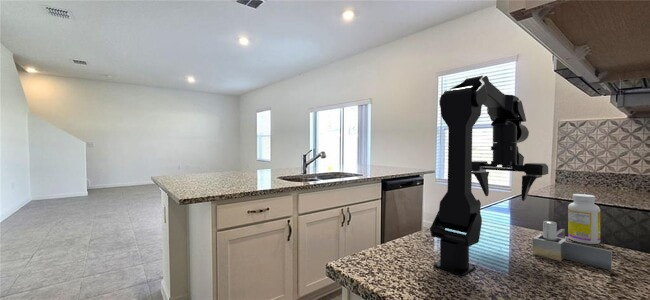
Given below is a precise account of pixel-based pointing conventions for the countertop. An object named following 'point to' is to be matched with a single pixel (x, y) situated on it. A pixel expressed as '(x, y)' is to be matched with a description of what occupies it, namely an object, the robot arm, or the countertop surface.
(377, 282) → the countertop surface
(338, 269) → the countertop surface
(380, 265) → the countertop surface
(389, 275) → the countertop surface
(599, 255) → the hinge
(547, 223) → the hinge pin
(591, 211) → the supplement bottle
